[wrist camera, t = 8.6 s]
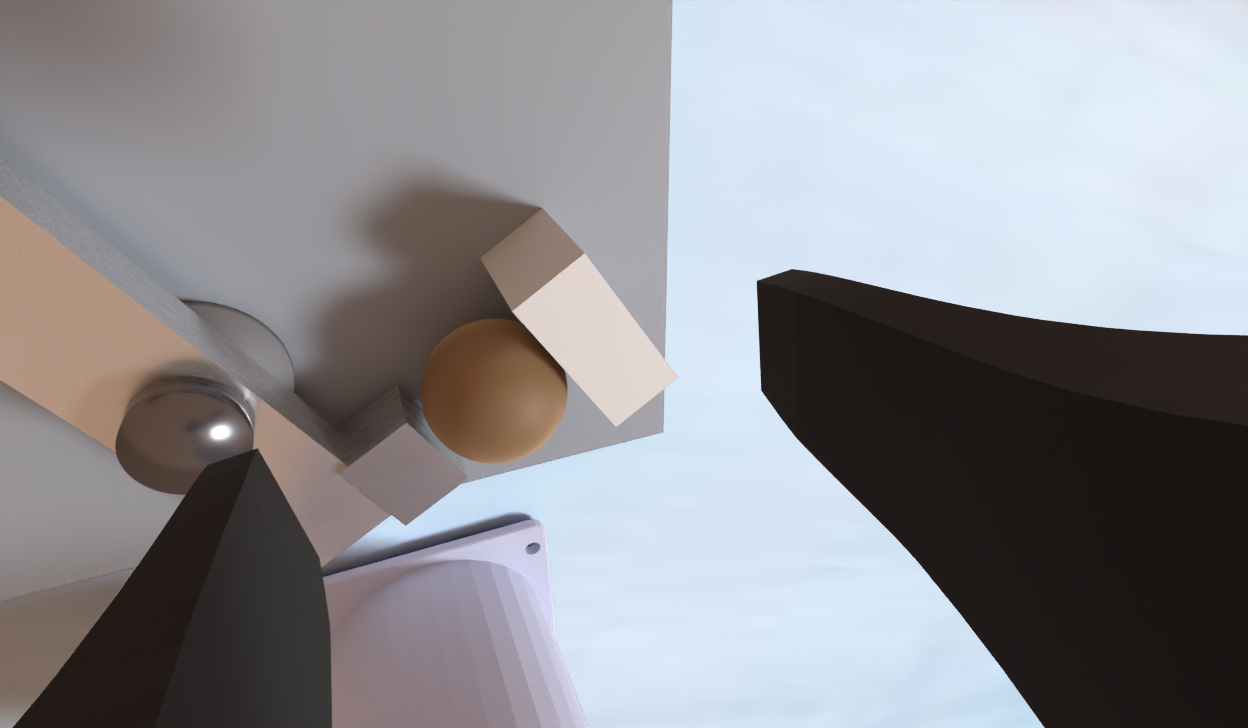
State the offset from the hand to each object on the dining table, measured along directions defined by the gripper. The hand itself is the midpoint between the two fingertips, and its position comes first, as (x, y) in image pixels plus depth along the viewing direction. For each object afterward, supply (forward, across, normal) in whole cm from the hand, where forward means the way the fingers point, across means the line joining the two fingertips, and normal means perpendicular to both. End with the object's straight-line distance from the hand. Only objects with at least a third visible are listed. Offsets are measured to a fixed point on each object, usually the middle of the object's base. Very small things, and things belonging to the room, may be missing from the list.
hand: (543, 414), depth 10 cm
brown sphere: (+9, 0, +4) cm, 10 cm away
